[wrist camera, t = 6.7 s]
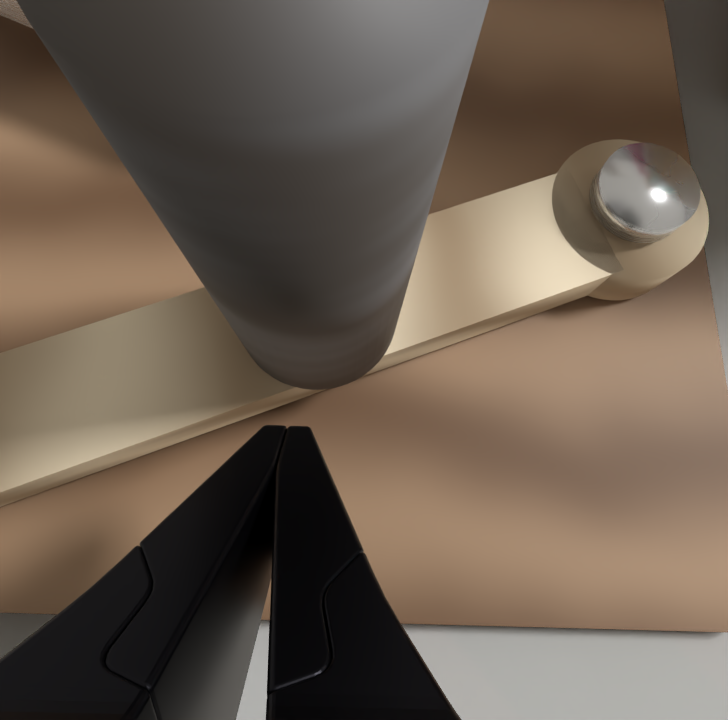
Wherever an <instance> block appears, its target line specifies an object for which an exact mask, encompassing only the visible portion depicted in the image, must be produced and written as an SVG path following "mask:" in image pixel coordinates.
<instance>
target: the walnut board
mask: <svg viewBox="0 0 728 720" xmlns="http://www.w3.org/2000/svg"><path fill="white" fill-rule="evenodd" d="M616 139H622V140H632V141H637V142H641V143H652V144H657V145H660V146H663V147H666V148H668V149H670V150H672V151H674V152H675V153H677V154H678V155H680V156H681V157H682V158H683V159H684V160H686V162H687V163H688V164H689V165H690V166H691V164H690V158H689V152H688V145H687V139H686V133H685V127H684V121H683V115H682V109H681V103H680V97H679V90H678V84H677V78H676V72H675V66H674V60H673V54H672V48H671V41H670V35H669V29H668V23H667V17H666V11H665V5H664V0H489V3H488V7H487V10H486V14H485V17H484V21H483V24H482V28H481V31H480V35H479V38H478V42H477V45H476V49H475V52H474V56H473V59H472V63H471V66H470V70H469V73H468V77H467V80H466V84H465V87H464V91H463V94H462V98H461V101H460V105H459V108H458V112H457V115H456V119H455V122H454V126H453V129H452V133H451V136H450V140H449V143H448V147H447V150H446V154H445V157H444V161H443V164H442V168H441V171H440V175H439V178H438V182H437V185H436V189H435V192H434V196H433V199H432V203H431V206H430V210H429V213H428V215H429V214H432V213H435V212H438V211H441V210H445V209H448V208H451V207H454V206H457V205H460V204H463V203H466V202H469V201H472V200H476V199H479V198H482V197H485V196H488V195H491V194H494V193H497V192H500V191H503V190H506V189H510V188H513V187H516V186H519V185H522V184H525V183H528V182H531V181H534V180H537V179H541V178H544V177H547V176H550V175H553V174H556V173H557V172H558V171H559V169H560V168H561V166H562V165H563V164H564V162H565V161H566V160H567V159H568V158H569V157H570V156H571V155H572V154H574V153H575V152H576V151H578V150H580V149H581V148H583V147H585V146H587V145H590V144H592V143H596V142H600V141H604V140H616ZM203 287H204V285H203V284H202V282H201V281H200V279H199V278H198V276H197V275H196V273H195V272H194V270H193V269H192V267H191V266H190V264H189V262H188V261H187V259H186V258H185V256H184V255H183V253H182V252H181V250H180V249H179V247H178V246H177V244H176V243H175V241H174V240H173V238H172V237H171V235H170V234H169V232H168V231H167V229H166V228H165V226H164V225H163V223H162V222H161V220H160V219H159V217H158V216H157V214H156V213H155V211H154V210H153V208H152V207H151V205H150V204H149V202H148V201H147V199H146V198H145V196H144V195H143V193H142V192H141V190H140V189H139V187H138V186H137V184H136V183H135V181H134V180H133V178H132V177H131V175H130V174H129V172H128V170H127V169H126V167H125V166H124V164H123V163H122V161H121V160H120V158H119V157H118V155H117V154H116V152H115V151H114V149H113V148H112V146H111V145H110V143H109V142H108V140H107V139H106V137H105V136H104V134H103V133H102V131H101V130H100V128H99V127H98V125H97V124H96V122H95V121H94V119H93V118H92V116H91V115H90V113H89V112H88V110H87V109H86V107H85V106H84V104H83V103H82V101H81V100H80V98H79V97H78V95H77V94H76V92H75V91H74V89H73V88H72V86H71V85H70V83H69V82H68V80H67V79H66V77H65V75H64V74H63V72H62V71H61V69H60V68H59V66H58V65H57V63H56V62H55V60H54V59H53V57H52V56H51V54H50V53H49V51H48V50H47V48H46V47H45V45H44V44H43V42H42V41H41V39H40V38H39V36H38V35H37V33H36V32H35V30H34V29H32V28H30V27H27V26H25V25H22V24H20V23H18V22H15V21H13V20H10V19H8V18H5V17H3V16H1V15H0V353H2V352H5V351H8V350H11V349H14V348H17V347H21V346H24V345H27V344H30V343H33V342H36V341H39V340H42V339H45V338H48V337H51V336H55V335H58V334H61V333H64V332H67V331H70V330H73V329H76V328H79V327H82V326H86V325H89V324H92V323H95V322H98V321H101V320H104V319H107V318H110V317H113V316H116V315H120V314H123V313H126V312H129V311H132V310H135V309H138V308H141V307H144V306H147V305H151V304H154V303H157V302H160V301H163V300H166V299H169V298H172V297H175V296H178V295H181V294H185V293H188V292H191V291H194V290H197V289H200V288H203ZM265 425H284V426H286V428H288V427H289V426H308V427H310V428H311V430H312V432H313V434H314V436H315V439H316V441H317V443H318V446H319V448H320V450H321V453H322V455H323V457H324V460H325V462H326V464H327V467H328V469H329V471H330V473H331V476H332V478H333V480H334V483H335V485H336V487H337V490H338V492H339V494H340V497H341V499H342V501H343V503H344V506H345V508H346V510H347V513H348V515H349V517H350V520H351V522H352V524H353V527H354V529H355V531H356V534H357V536H358V538H359V540H360V543H361V545H362V547H363V550H364V553H365V554H366V556H367V558H368V561H369V563H370V565H371V568H372V570H373V572H374V574H375V576H376V578H377V580H378V582H379V584H380V587H381V589H382V591H383V593H384V595H385V597H386V599H387V600H388V602H389V604H390V606H391V607H392V609H393V611H394V613H395V614H396V616H397V618H398V620H399V621H400V623H402V624H440V625H477V626H514V627H551V628H589V629H626V630H663V631H700V632H728V390H727V384H726V378H725V372H724V366H723V359H722V353H721V347H720V341H719V335H718V329H717V323H716V317H715V311H714V304H713V298H712V292H711V286H710V280H709V274H708V268H707V262H706V256H705V249H704V246H703V247H702V249H701V251H700V252H699V254H698V255H697V256H696V257H695V259H694V260H693V261H692V262H691V263H689V264H688V265H687V266H686V267H684V268H683V269H682V270H680V271H679V272H677V273H676V274H674V275H673V276H671V277H670V278H668V279H667V280H666V281H664V282H663V283H661V284H660V285H658V286H657V287H655V288H654V289H652V290H651V291H649V292H648V293H646V294H643V295H641V296H639V297H635V298H632V299H626V300H603V299H598V298H593V297H590V296H585V297H582V298H579V299H577V300H574V301H571V302H568V303H565V304H563V305H560V306H557V307H554V308H552V309H549V310H546V311H543V312H540V313H538V314H535V315H532V316H529V317H527V318H524V319H521V320H518V321H515V322H513V323H510V324H507V325H504V326H502V327H499V328H496V329H493V330H490V331H488V332H485V333H482V334H479V335H477V336H474V337H471V338H468V339H465V340H463V341H460V342H457V343H454V344H452V345H449V346H446V347H443V348H440V349H438V350H435V351H432V352H429V353H427V354H424V355H421V356H418V357H415V358H413V359H410V360H407V361H404V362H402V363H399V364H396V365H393V366H390V367H388V368H385V369H382V370H379V371H376V372H374V373H371V374H368V375H365V376H363V377H360V378H359V379H357V380H355V381H353V382H351V383H348V384H346V385H343V386H340V387H336V388H331V389H326V390H324V391H321V392H318V393H315V394H313V395H310V396H307V397H304V398H301V399H299V400H296V401H293V402H290V403H288V404H285V405H282V406H279V407H276V408H274V409H271V410H268V411H265V412H263V413H260V414H257V415H254V416H251V417H249V418H246V419H243V420H240V421H238V422H235V423H232V424H229V425H226V426H224V427H221V428H218V429H215V430H213V431H210V432H207V433H204V434H201V435H199V436H196V437H193V438H190V439H187V440H185V441H182V442H179V443H176V444H174V445H171V446H168V447H165V448H162V449H160V450H157V451H154V452H151V453H149V454H146V455H143V456H140V457H137V458H135V459H132V460H129V461H126V462H124V463H121V464H118V465H115V466H112V467H110V468H107V469H104V470H101V471H99V472H96V473H93V474H90V475H87V476H85V477H82V478H79V479H76V480H74V481H71V482H68V483H65V484H62V485H60V486H57V487H54V488H51V489H49V490H46V491H43V492H40V493H37V494H35V495H32V496H29V497H26V498H24V499H21V500H18V501H15V502H12V503H10V504H7V505H4V506H1V507H0V613H30V614H59V613H60V612H61V611H62V610H63V609H65V608H66V607H67V606H68V605H69V604H71V603H72V602H73V601H74V600H76V599H77V598H78V597H79V596H80V595H82V594H83V593H84V592H85V591H87V590H88V589H89V588H90V587H91V586H92V585H94V584H95V583H96V582H97V581H98V580H99V579H100V578H101V577H102V576H104V575H105V574H106V573H107V572H108V571H109V570H110V569H111V568H113V567H114V566H115V565H116V564H117V563H118V562H119V561H120V560H121V559H122V558H123V557H124V556H126V555H127V554H128V553H129V552H130V551H131V550H132V549H133V548H134V547H135V546H140V545H139V544H140V542H141V541H142V540H143V539H144V538H145V537H146V536H147V535H148V534H149V533H150V532H151V531H152V530H153V529H154V528H156V527H157V526H158V525H159V524H160V523H161V522H162V521H163V520H164V519H165V518H166V517H167V516H168V515H169V514H170V513H171V512H173V511H174V510H175V509H176V508H177V507H178V506H179V505H180V504H181V503H182V502H183V501H184V500H185V499H186V498H187V497H188V496H190V495H191V494H192V493H193V492H194V491H195V490H196V489H197V488H198V487H199V486H200V485H201V484H202V483H203V482H204V481H205V480H206V479H208V478H209V477H210V476H211V475H212V474H213V473H214V472H215V471H216V470H217V469H218V468H219V467H220V466H221V465H222V464H223V463H225V462H226V461H227V460H228V459H229V458H230V457H231V456H232V455H233V454H234V453H235V452H236V451H237V450H238V449H239V448H240V447H242V446H243V445H244V444H245V443H246V442H247V441H248V440H249V439H250V438H251V437H252V436H253V435H254V434H255V433H256V432H257V431H258V430H260V429H261V428H262V427H263V426H265ZM270 600H271V581H270V585H269V589H268V593H267V597H266V601H265V605H264V609H263V613H262V617H261V620H270Z"/></svg>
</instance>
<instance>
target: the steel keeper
mask: <svg viewBox="0 0 728 720" xmlns="http://www.w3.org/2000/svg"><path fill="white" fill-rule="evenodd" d="M0 15H1V16H3V17H5V18H8V19H10V20H13V21H15V22H18V23H20V24H22V25H25V26H27V27H30V28H32V29H33V27H32V26H31V24H30V23H29V21H28V20H27V18H26V16H25V15H24V13H23V11H22V9H21V8H20V6H19V4H18V2H17V1H16V0H0ZM700 195H701V191H700V185H699V181H698V178H697V176H696V174H695V172H694V170H693V169H692V168H691V166H690V165H689V164H688V163H687V162H686V160H684V159H683V158H682V157H681V156H680V155H678V154H677V153H675V152H674V151H672V150H670V149H668V148H666V147H663V146H660V145H657V144H652V143H633V144H629V145H626V146H624V147H621V148H620V149H618V150H617V151H615V152H614V153H613V154H612V155H611V156H610V157H609V158H608V160H607V161H606V162H605V164H604V165H603V166H602V167H601V169H600V170H599V171H598V173H597V174H596V175H595V177H594V178H593V180H592V182H591V185H590V190H589V201H590V205H591V208H592V211H593V213H594V215H595V217H596V218H597V220H598V221H599V222H600V224H601V225H602V226H603V227H604V228H605V229H606V230H608V231H609V232H610V233H612V234H613V235H615V236H617V237H619V238H621V239H623V240H626V241H629V242H634V243H653V242H657V241H660V240H662V239H664V238H666V237H668V236H669V235H670V234H672V233H673V232H674V231H675V230H676V229H678V228H679V227H680V226H681V225H683V224H684V223H685V222H686V221H687V220H689V219H690V218H691V217H692V216H693V214H694V213H695V211H696V210H697V208H698V205H699V202H700Z"/></svg>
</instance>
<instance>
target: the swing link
mask: <svg viewBox="0 0 728 720" xmlns="http://www.w3.org/2000/svg"><path fill="white" fill-rule="evenodd" d="M16 1H17V2H18V4H19V6H20V8H21V9H22V11H23V13H24V15H25V16H26V18H27V20H28V21H29V23H30V24H31V26H32V27H33V29H34V30H35V32H36V33H37V35H38V36H39V38H40V39H41V41H42V42H43V44H44V45H45V47H46V48H47V50H48V51H49V53H50V54H51V56H52V57H53V59H54V60H55V62H56V63H57V65H58V66H59V68H60V69H61V71H62V72H63V74H64V75H65V77H66V79H67V80H68V82H69V83H70V85H71V86H72V88H73V89H74V91H75V92H76V94H77V95H78V97H79V98H80V100H81V101H82V103H83V104H84V106H85V107H86V109H87V110H88V112H89V113H90V115H91V116H92V118H93V119H94V121H95V122H96V124H97V125H98V127H99V128H100V130H101V131H102V133H103V134H104V136H105V137H106V139H107V140H108V142H109V143H110V145H111V146H112V148H113V149H114V151H115V152H116V154H117V155H118V157H119V158H120V160H121V161H122V163H123V164H124V166H125V167H126V169H127V170H128V172H129V174H130V175H131V177H132V178H133V180H134V181H135V183H136V184H137V186H138V187H139V189H140V190H141V192H142V193H143V195H144V196H145V198H146V199H147V201H148V202H149V204H150V205H151V207H152V208H153V210H154V211H155V213H156V214H157V216H158V217H159V219H160V220H161V222H162V223H163V225H164V226H165V228H166V229H167V231H168V232H169V234H170V235H171V237H172V238H173V240H174V241H175V243H176V244H177V246H178V247H179V249H180V250H181V252H182V253H183V255H184V256H185V258H186V259H187V261H188V262H189V264H190V266H191V267H192V269H193V270H194V272H195V273H196V275H197V276H198V278H199V279H200V281H201V282H202V284H203V285H204V287H203V288H200V289H197V290H194V291H191V292H188V293H185V294H181V295H178V296H175V297H172V298H169V299H166V300H163V301H160V302H157V303H154V304H151V305H147V306H144V307H141V308H138V309H135V310H132V311H129V312H126V313H123V314H120V315H116V316H113V317H110V318H107V319H104V320H101V321H98V322H95V323H92V324H89V325H86V326H82V327H79V328H76V329H73V330H70V331H67V332H64V333H61V334H58V335H55V336H51V337H48V338H45V339H42V340H39V341H36V342H33V343H30V344H27V345H24V346H21V347H17V348H14V349H11V350H8V351H5V352H2V353H0V507H1V506H4V505H7V504H10V503H12V502H15V501H18V500H21V499H24V498H26V497H29V496H32V495H35V494H37V493H40V492H43V491H46V490H49V489H51V488H54V487H57V486H60V485H62V484H65V483H68V482H71V481H74V480H76V479H79V478H82V477H85V476H87V475H90V474H93V473H96V472H99V471H101V470H104V469H107V468H110V467H112V466H115V465H118V464H121V463H124V462H126V461H129V460H132V459H135V458H137V457H140V456H143V455H146V454H149V453H151V452H154V451H157V450H160V449H162V448H165V447H168V446H171V445H174V444H176V443H179V442H182V441H185V440H187V439H190V438H193V437H196V436H199V435H201V434H204V433H207V432H210V431H213V430H215V429H218V428H221V427H224V426H226V425H229V424H232V423H235V422H238V421H240V420H243V419H246V418H249V417H251V416H254V415H257V414H260V413H263V412H265V411H268V410H271V409H274V408H276V407H279V406H282V405H285V404H288V403H290V402H293V401H296V400H299V399H301V398H304V397H307V396H310V395H313V394H315V393H318V392H321V391H324V390H326V389H331V388H336V387H340V386H343V385H346V384H348V383H351V382H353V381H355V380H357V379H359V378H360V377H363V376H365V375H368V374H371V373H374V372H376V371H379V370H382V369H385V368H388V367H390V366H393V365H396V364H399V363H402V362H404V361H407V360H410V359H413V358H415V357H418V356H421V355H424V354H427V353H429V352H432V351H435V350H438V349H440V348H443V347H446V346H449V345H452V344H454V343H457V342H460V341H463V340H465V339H468V338H471V337H474V336H477V335H479V334H482V333H485V332H488V331H490V330H493V329H496V328H499V327H502V326H504V325H507V324H510V323H513V322H515V321H518V320H521V319H524V318H527V317H529V316H532V315H535V314H538V313H540V312H543V311H546V310H549V309H552V308H554V307H557V306H560V305H563V304H565V303H568V302H571V301H574V300H577V299H579V298H582V297H585V296H590V297H593V298H598V299H603V300H626V299H632V298H635V297H639V296H641V295H643V294H646V293H648V292H649V291H651V290H652V289H654V288H655V287H657V286H658V285H660V284H661V283H663V282H664V281H666V280H667V279H668V278H670V277H671V276H673V275H674V274H676V273H677V272H679V271H680V270H682V269H683V268H684V267H686V266H687V265H688V264H689V263H691V262H692V261H693V260H694V259H695V257H696V256H697V255H698V254H699V252H700V251H701V249H702V247H703V246H704V243H705V240H706V238H707V234H708V229H709V213H708V207H707V203H706V200H705V197H704V195H703V192H702V190H701V188H700V191H701V195H700V202H699V205H698V208H697V210H696V211H695V213H694V214H693V216H692V217H691V218H690V219H689V220H687V221H686V222H685V223H684V224H683V225H681V226H680V227H679V228H678V229H676V230H675V231H674V232H673V233H672V234H670V235H669V236H668V237H666V238H664V239H662V240H660V241H657V242H653V243H634V242H629V241H626V240H623V239H621V238H619V237H617V236H615V235H613V234H612V233H610V232H609V231H608V230H606V229H605V228H604V227H603V226H602V225H601V224H600V222H599V221H598V220H597V218H596V217H595V215H594V213H593V211H592V208H591V205H590V201H589V190H590V185H591V182H592V180H593V178H594V177H595V175H596V174H597V173H598V171H599V170H600V169H601V167H602V166H603V165H604V164H605V162H606V161H607V160H608V158H609V157H610V156H611V155H612V154H613V153H614V152H615V151H617V150H618V149H620V148H621V147H624V146H626V145H629V144H633V143H641V142H637V141H632V140H622V139H616V140H604V141H600V142H596V143H592V144H590V145H587V146H585V147H583V148H581V149H580V150H578V151H576V152H575V153H574V154H572V155H571V156H570V157H569V158H568V159H567V160H566V161H565V162H564V164H563V165H562V166H561V168H560V169H559V171H558V172H557V173H556V174H553V175H550V176H547V177H544V178H541V179H537V180H534V181H531V182H528V183H525V184H522V185H519V186H516V187H513V188H510V189H506V190H503V191H500V192H497V193H494V194H491V195H488V196H485V197H482V198H479V199H476V200H472V201H469V202H466V203H463V204H460V205H457V206H454V207H451V208H448V209H445V210H441V211H438V212H435V213H432V214H429V215H428V213H429V210H430V206H431V203H432V199H433V196H434V192H435V189H436V185H437V182H438V178H439V175H440V171H441V168H442V164H443V161H444V157H445V154H446V150H447V147H448V143H449V140H450V136H451V133H452V129H453V126H454V122H455V119H456V115H457V112H458V108H459V105H460V101H461V98H462V94H463V91H464V87H465V84H466V80H467V77H468V73H469V70H470V66H471V63H472V59H473V56H474V52H475V49H476V45H477V42H478V38H479V35H480V31H481V28H482V24H483V21H484V17H485V14H486V10H487V7H488V3H489V0H16Z"/></svg>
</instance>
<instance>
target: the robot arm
mask: <svg viewBox="0 0 728 720" xmlns="http://www.w3.org/2000/svg"><path fill="white" fill-rule="evenodd" d="M139 545H140V546H135V547H134V548H133V549H132V550H131V551H130V552H129V553H128V554H127V555H126V556H124V557H123V558H122V559H121V560H120V561H119V562H118V563H117V564H116V565H115V566H114V567H113V568H111V569H110V570H109V571H108V572H107V573H106V574H105V575H104V576H102V577H101V578H100V579H99V580H98V581H97V582H96V583H95V584H94V585H92V586H91V587H90V588H89V589H88V590H87V591H85V592H84V593H83V594H82V595H80V596H79V597H78V598H77V599H76V600H74V601H73V602H72V603H71V604H69V605H68V606H67V607H66V608H65V609H63V610H62V611H61V612H60V613H59V614H57V615H56V616H55V617H54V618H52V619H51V620H50V621H48V622H47V623H46V624H45V625H43V626H42V627H41V628H40V629H38V630H37V631H36V632H35V633H33V634H32V635H31V636H29V637H28V638H27V639H26V640H24V641H23V642H22V643H21V644H19V645H18V646H17V647H15V648H14V649H13V650H12V651H10V652H9V653H8V654H7V655H5V656H4V657H3V658H2V659H0V720H236V716H237V712H238V708H239V704H240V700H241V696H242V692H243V688H244V684H245V680H246V677H247V673H248V669H249V665H250V661H251V657H252V653H253V649H254V645H255V641H256V637H257V633H258V629H259V625H260V621H261V617H262V613H263V609H264V605H265V601H266V597H267V593H268V589H269V585H270V581H271V600H270V627H269V653H268V680H267V707H266V720H461V718H460V717H459V716H458V714H457V713H456V711H455V710H454V708H453V707H452V705H451V704H450V702H449V701H448V699H447V698H446V696H445V695H444V693H443V691H442V690H441V688H440V686H439V685H438V683H437V682H436V680H435V678H434V677H433V675H432V673H431V672H430V670H429V669H428V667H427V665H426V664H425V662H424V661H423V659H422V657H421V656H420V654H419V652H418V651H417V649H416V648H415V646H414V644H413V643H412V641H411V640H410V638H409V636H408V635H407V633H406V631H405V630H404V628H403V627H402V625H401V623H400V621H399V620H398V618H397V616H396V614H395V613H394V611H393V609H392V607H391V606H390V604H389V602H388V600H387V599H386V597H385V595H384V593H383V591H382V589H381V587H380V584H379V582H378V580H377V578H376V576H375V574H374V572H373V570H372V568H371V565H370V563H369V561H368V558H367V556H366V554H365V553H364V550H363V547H362V545H361V543H360V540H359V538H358V536H357V534H356V531H355V529H354V527H353V524H352V522H351V520H350V517H349V515H348V513H347V510H346V508H345V506H344V503H343V501H342V499H341V497H340V494H339V492H338V490H337V487H336V485H335V483H334V480H333V478H332V476H331V473H330V471H329V469H328V467H327V464H326V462H325V460H324V457H323V455H322V453H321V450H320V448H319V446H318V443H317V441H316V439H315V436H314V434H313V432H312V430H311V428H310V427H308V426H289V427H288V428H286V426H284V425H265V426H263V427H262V428H261V429H260V430H258V431H257V432H256V433H255V434H254V435H253V436H252V437H251V438H250V439H249V440H248V441H247V442H246V443H245V444H244V445H243V446H242V447H240V448H239V449H238V450H237V451H236V452H235V453H234V454H233V455H232V456H231V457H230V458H229V459H228V460H227V461H226V462H225V463H223V464H222V465H221V466H220V467H219V468H218V469H217V470H216V471H215V472H214V473H213V474H212V475H211V476H210V477H209V478H208V479H206V480H205V481H204V482H203V483H202V484H201V485H200V486H199V487H198V488H197V489H196V490H195V491H194V492H193V493H192V494H191V495H190V496H188V497H187V498H186V499H185V500H184V501H183V502H182V503H181V504H180V505H179V506H178V507H177V508H176V509H175V510H174V511H173V512H171V513H170V514H169V515H168V516H167V517H166V518H165V519H164V520H163V521H162V522H161V523H160V524H159V525H158V526H157V527H156V528H154V529H153V530H152V531H151V532H150V533H149V534H148V535H147V536H146V537H145V538H144V539H143V540H142V541H141V542H140V544H139Z"/></svg>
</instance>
